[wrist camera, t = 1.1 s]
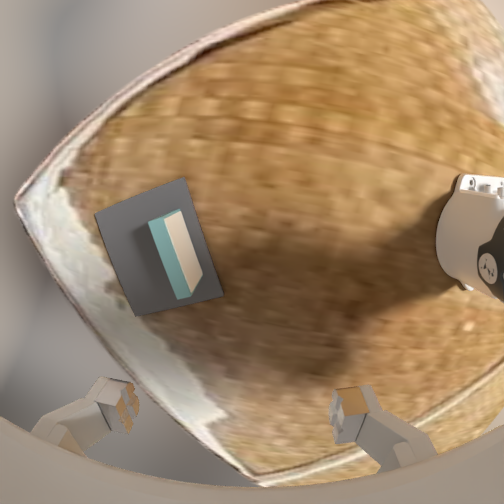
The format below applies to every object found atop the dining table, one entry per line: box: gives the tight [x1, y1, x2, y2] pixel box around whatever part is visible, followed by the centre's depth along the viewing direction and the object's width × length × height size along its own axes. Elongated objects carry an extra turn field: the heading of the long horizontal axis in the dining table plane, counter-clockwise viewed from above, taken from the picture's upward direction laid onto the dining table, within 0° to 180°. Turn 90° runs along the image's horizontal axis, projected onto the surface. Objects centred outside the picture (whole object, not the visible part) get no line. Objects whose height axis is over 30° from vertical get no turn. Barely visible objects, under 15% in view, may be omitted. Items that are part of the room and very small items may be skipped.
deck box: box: [148, 209, 203, 300], centre depth 32 cm, size 2×9×6 cm, turn 17°
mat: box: [95, 177, 224, 316], centre depth 36 cm, size 14×16×1 cm
